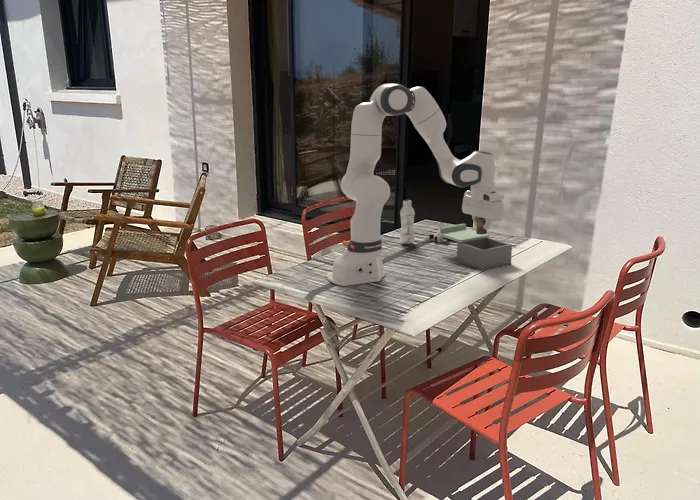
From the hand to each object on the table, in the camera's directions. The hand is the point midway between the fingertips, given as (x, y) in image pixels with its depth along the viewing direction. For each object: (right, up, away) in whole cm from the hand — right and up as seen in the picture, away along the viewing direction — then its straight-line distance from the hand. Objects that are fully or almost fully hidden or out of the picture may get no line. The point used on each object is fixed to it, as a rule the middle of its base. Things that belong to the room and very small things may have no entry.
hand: (481, 228), depth 219 cm
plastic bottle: (-25, -6, +36) cm, 45 cm away
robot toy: (-8, -4, +41) cm, 42 cm away
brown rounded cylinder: (0, -2, +1) cm, 2 cm away
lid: (-4, -3, +14) cm, 15 cm away
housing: (+2, -14, +6) cm, 15 cm away
